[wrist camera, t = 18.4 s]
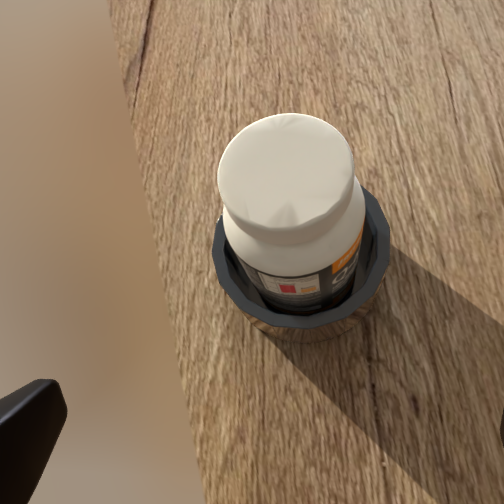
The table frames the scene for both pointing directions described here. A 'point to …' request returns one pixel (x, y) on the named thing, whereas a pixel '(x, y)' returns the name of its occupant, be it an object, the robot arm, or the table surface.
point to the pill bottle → (293, 211)
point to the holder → (324, 323)
